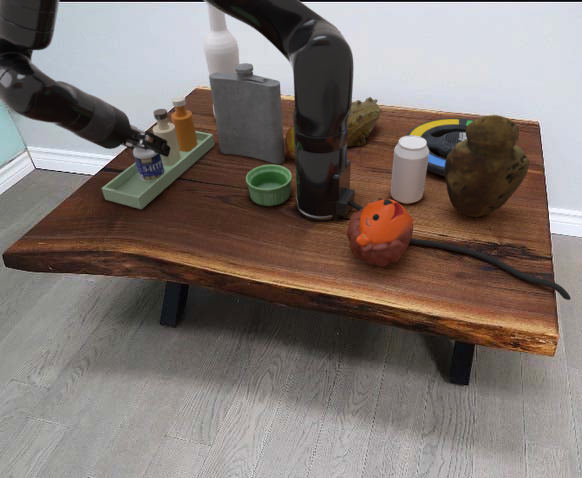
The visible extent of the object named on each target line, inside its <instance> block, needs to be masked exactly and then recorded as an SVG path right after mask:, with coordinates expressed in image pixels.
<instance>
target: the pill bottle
mask: <svg viewBox="0 0 582 478" xmlns="http://www.w3.org/2000/svg"><path fill="white" fill-rule="evenodd" d="M142 135H143V134H142ZM138 145H139V146H143V144H142V141H140V144H138ZM132 155H133V159H134V163H136V167H137V170H138V174H139V177H140V179H141V180H142V181H144V182H154V181H156V180H157V179H158V178H159V177H161V176H162V175H163V174H164V168H163V163H162V159H161V155H160V154H159V153H155V152H154V151H151V150H148V149H147V150H145V151H143V150H140V149H137V148H134V150H133V149H132Z"/></svg>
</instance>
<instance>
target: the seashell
mask: <svg viewBox="0 0 582 478" xmlns="http://www.w3.org/2000/svg"><path fill="white" fill-rule="evenodd" d="M377 103H378V99H376V98H375V99H373V98H372V97H371V96H368V97H367V98H365V100H364V101H361V100H359V99H358V100H355V101H354V102H353V101H352V106H351V111H350V114H349V116H348V139H347V147H350V148H351V147H358V146H359V147H360V146H365V144H366V143H367V138H368V137H370V134H371V132H372V131H373V130H374V129H375V124H376V123H377V121H378V120H379V119H380V116H381V112H382V111H383V110H382V109H381V108H380V107H379V105H378V104H377Z"/></svg>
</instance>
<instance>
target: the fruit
mask: <svg viewBox="0 0 582 478" xmlns="http://www.w3.org/2000/svg"><path fill="white" fill-rule="evenodd" d="M284 147H285V150H286V152H287V154H288V155H289V157H290V158H291V159H293V160H295V146H294V125H293V124H292V125H291V126H290V127H289V128H288V130H287V131H286V134H285V138H284Z"/></svg>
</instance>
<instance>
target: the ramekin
mask: <svg viewBox="0 0 582 478" xmlns="http://www.w3.org/2000/svg"><path fill="white" fill-rule="evenodd" d="M292 179H293V174H292V172H291V171H290V169H288V168H287V167H286V166H283V165H280V164H263V165H259V166H257V167H254V168H252V169H251V170H249V171H248V172H247V174H246V176H245V182H246V185H247V188H248V194H249V197H250V199H251V200H252V202H254V203H255V204H257V205H260V206H265V207H272V206H277V205H280V204H283V203H284V202H286V201H287V200H288V199H289V197H290V195H291V186H292Z"/></svg>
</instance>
